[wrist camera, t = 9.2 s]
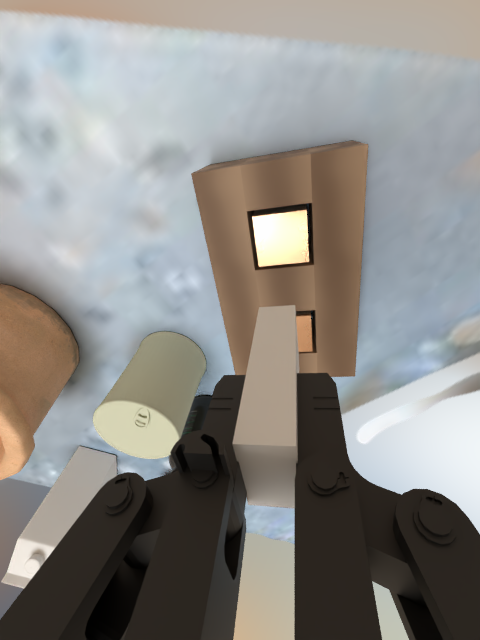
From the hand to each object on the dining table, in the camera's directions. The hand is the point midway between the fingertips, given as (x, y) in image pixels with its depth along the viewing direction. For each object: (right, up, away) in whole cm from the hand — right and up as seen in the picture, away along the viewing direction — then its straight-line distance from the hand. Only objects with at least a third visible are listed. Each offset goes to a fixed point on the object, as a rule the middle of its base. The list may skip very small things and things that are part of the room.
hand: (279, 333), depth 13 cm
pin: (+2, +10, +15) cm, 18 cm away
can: (-11, -5, +27) cm, 30 cm away
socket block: (+3, +6, +18) cm, 19 cm away
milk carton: (-28, -26, +44) cm, 59 cm away
